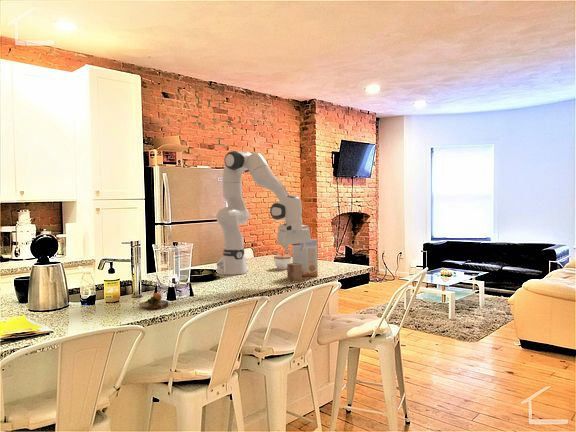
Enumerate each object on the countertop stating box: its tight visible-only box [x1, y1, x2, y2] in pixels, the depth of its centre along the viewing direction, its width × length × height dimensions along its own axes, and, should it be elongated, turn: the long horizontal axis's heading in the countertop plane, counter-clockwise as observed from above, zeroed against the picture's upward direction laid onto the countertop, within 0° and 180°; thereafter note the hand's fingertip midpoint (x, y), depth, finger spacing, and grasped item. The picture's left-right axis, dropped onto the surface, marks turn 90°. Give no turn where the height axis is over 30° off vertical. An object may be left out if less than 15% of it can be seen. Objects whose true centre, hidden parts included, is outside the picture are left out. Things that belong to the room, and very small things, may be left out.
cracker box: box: [291, 238, 319, 277], centre depth 265 cm, size 14×6×21 cm, turn 84°
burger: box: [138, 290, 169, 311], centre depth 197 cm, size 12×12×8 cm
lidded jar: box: [273, 252, 292, 270], centre depth 290 cm, size 11×11×9 cm
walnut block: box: [286, 262, 303, 283], centre depth 250 cm, size 6×5×9 cm
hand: (294, 252), depth 250 cm, fingers open, 8 cm apart
